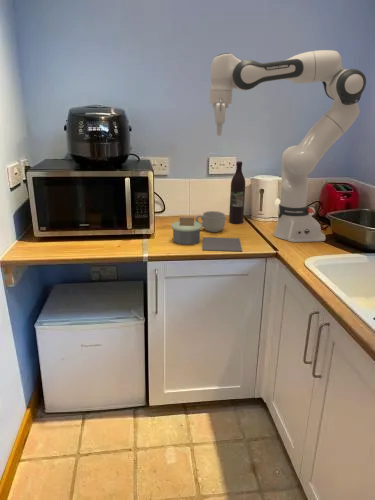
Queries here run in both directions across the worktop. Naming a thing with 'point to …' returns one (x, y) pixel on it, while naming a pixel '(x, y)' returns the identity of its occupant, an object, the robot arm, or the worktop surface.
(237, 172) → the wine bottle
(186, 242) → the octagonal grey bowl
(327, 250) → the worktop surface
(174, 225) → the lid
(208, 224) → the teacup
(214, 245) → the mat
